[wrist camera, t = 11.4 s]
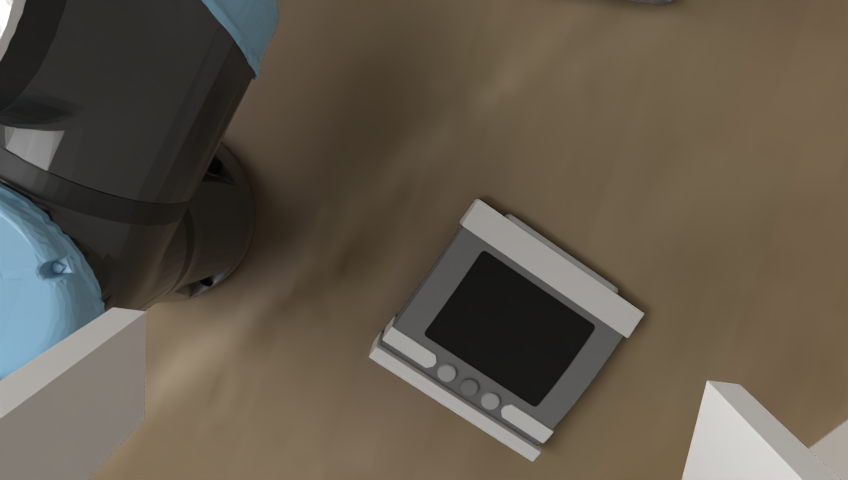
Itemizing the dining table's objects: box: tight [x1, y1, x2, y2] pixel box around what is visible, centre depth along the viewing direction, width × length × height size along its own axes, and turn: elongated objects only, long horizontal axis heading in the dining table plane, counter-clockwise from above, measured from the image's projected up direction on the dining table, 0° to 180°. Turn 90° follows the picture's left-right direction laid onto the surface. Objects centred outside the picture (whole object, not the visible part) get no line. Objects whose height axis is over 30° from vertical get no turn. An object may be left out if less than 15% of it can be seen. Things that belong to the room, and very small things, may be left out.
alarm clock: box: [369, 199, 644, 462], centre depth 51 cm, size 17×5×16 cm
